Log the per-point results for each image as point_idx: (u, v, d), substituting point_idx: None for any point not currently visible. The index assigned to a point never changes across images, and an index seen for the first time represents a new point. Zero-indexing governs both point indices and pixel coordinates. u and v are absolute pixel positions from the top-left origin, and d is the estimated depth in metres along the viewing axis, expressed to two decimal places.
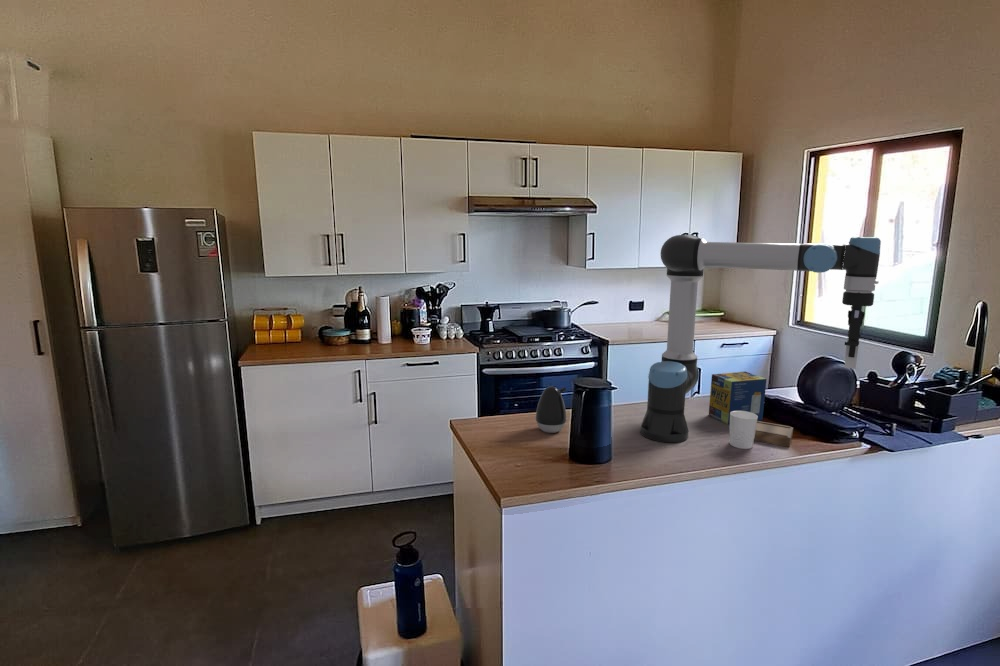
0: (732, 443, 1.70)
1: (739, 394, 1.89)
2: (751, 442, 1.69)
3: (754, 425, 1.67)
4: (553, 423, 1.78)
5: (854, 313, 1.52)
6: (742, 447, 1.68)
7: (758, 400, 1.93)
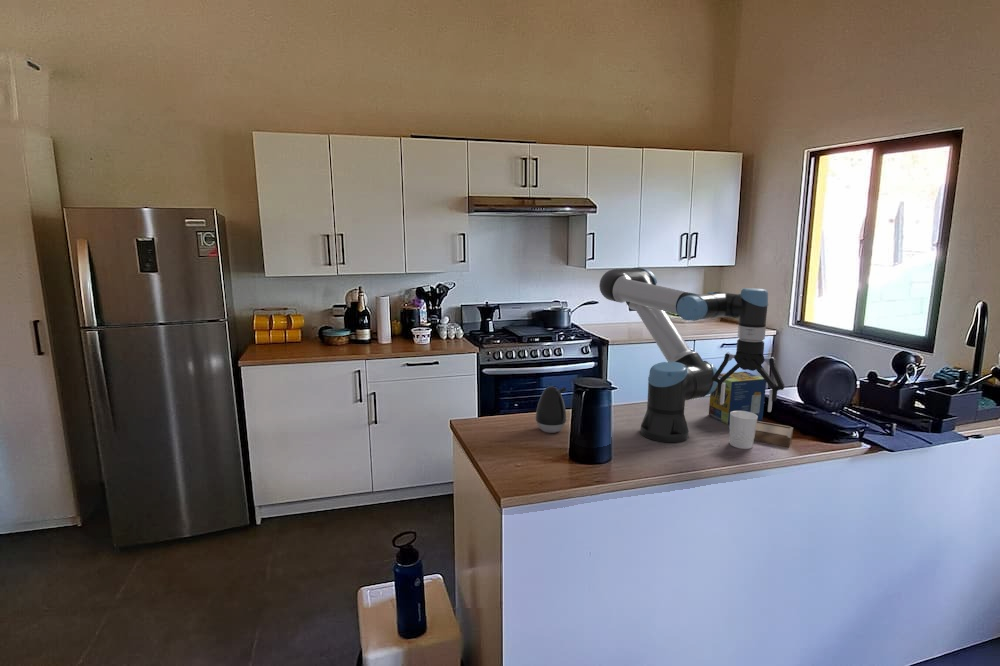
0: (732, 443, 1.70)
1: (739, 394, 1.89)
2: (751, 442, 1.69)
3: (754, 425, 1.67)
4: (553, 423, 1.78)
5: None
6: (742, 447, 1.68)
7: (758, 400, 1.93)
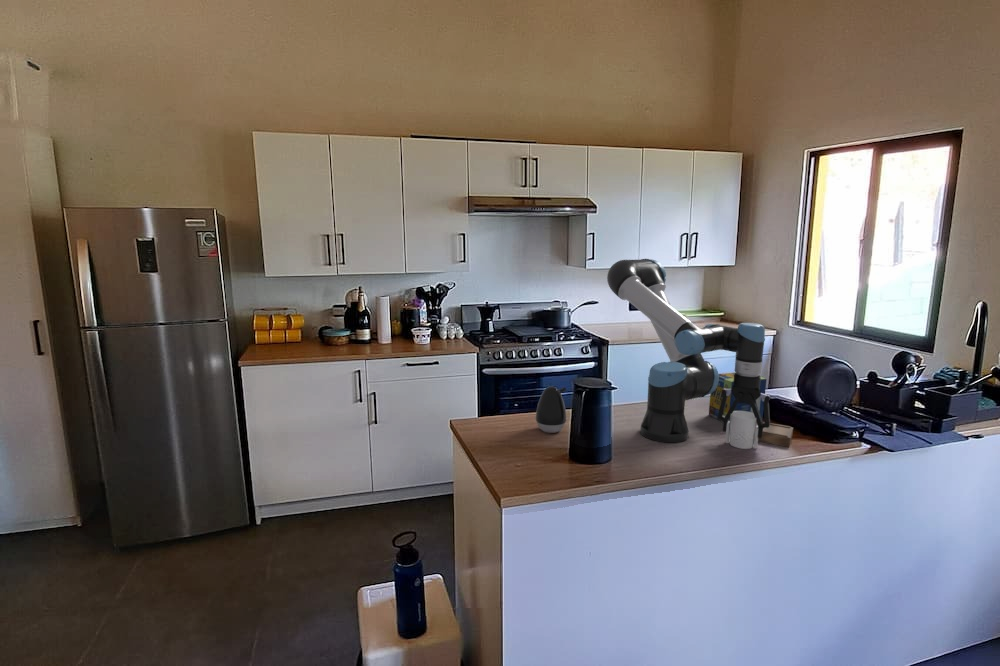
0: (732, 443, 1.70)
1: None
2: (751, 442, 1.68)
3: (754, 425, 1.67)
4: (553, 423, 1.78)
5: None
6: (742, 447, 1.68)
7: (758, 400, 1.93)
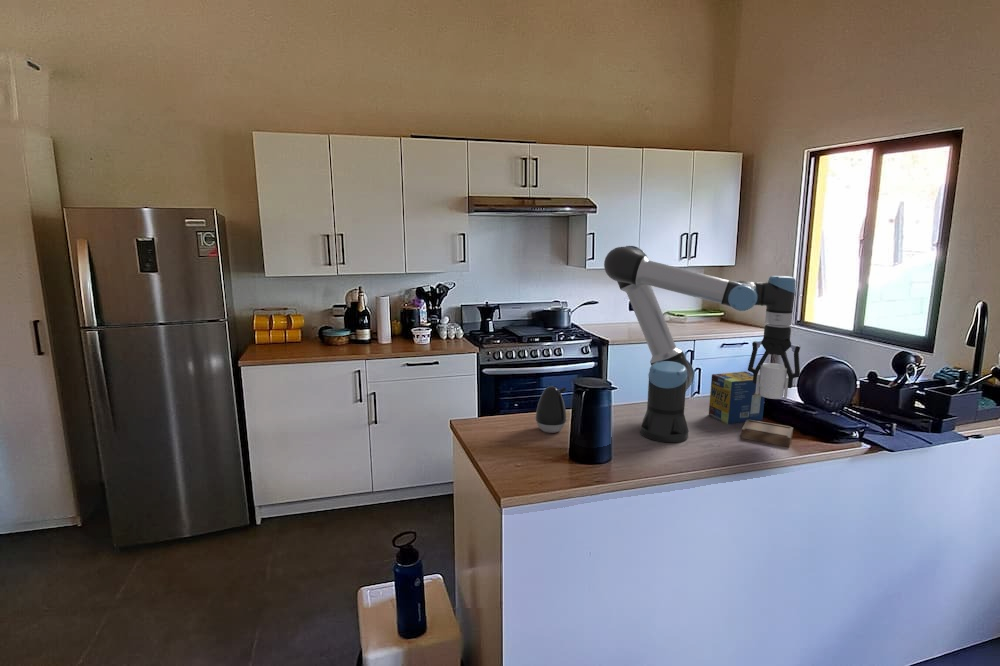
0: (762, 394, 1.75)
1: (739, 394, 1.89)
2: (781, 392, 1.73)
3: (784, 375, 1.71)
4: (553, 423, 1.78)
5: None
6: (773, 397, 1.73)
7: (758, 400, 1.93)
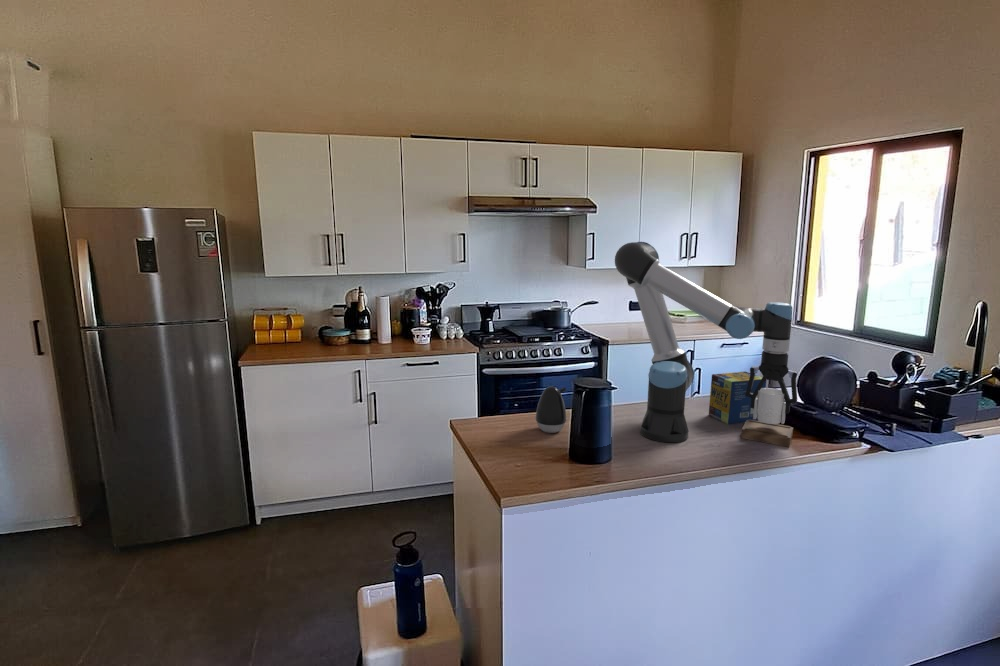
0: (760, 419, 1.76)
1: (739, 394, 1.89)
2: (779, 418, 1.74)
3: (782, 401, 1.73)
4: (553, 423, 1.78)
5: None
6: (770, 422, 1.74)
7: None
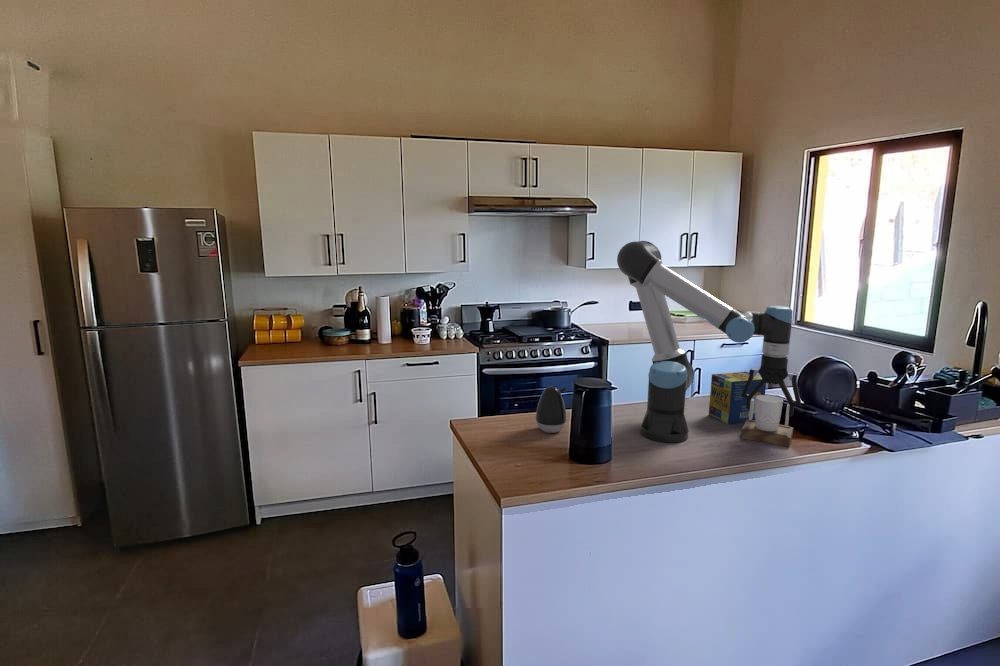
0: (758, 426, 1.77)
1: (739, 394, 1.89)
2: (777, 425, 1.75)
3: (780, 408, 1.74)
4: (553, 423, 1.78)
5: None
6: (768, 430, 1.75)
7: None
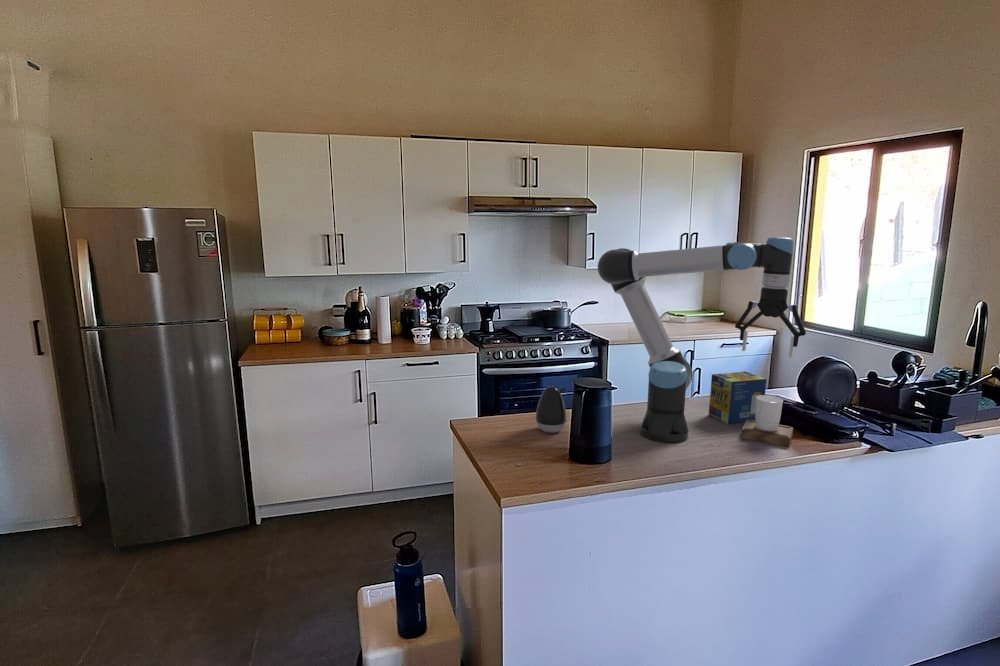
0: (758, 426, 1.77)
1: (739, 394, 1.89)
2: (777, 425, 1.75)
3: (780, 408, 1.74)
4: (553, 423, 1.78)
5: None
6: (768, 430, 1.75)
7: None
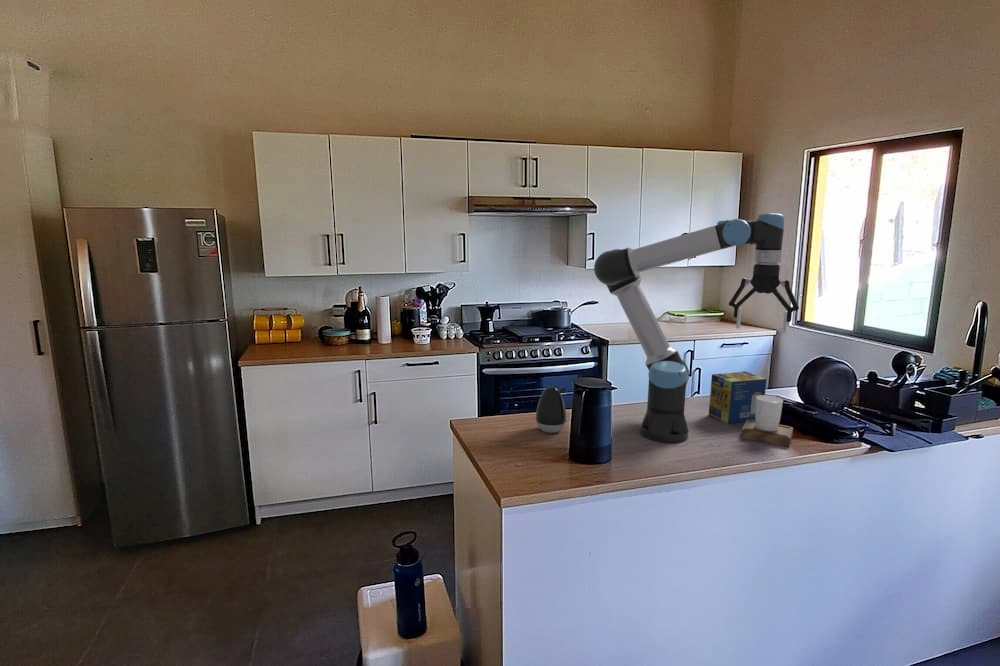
0: (758, 426, 1.77)
1: (739, 394, 1.89)
2: (777, 425, 1.75)
3: (780, 408, 1.74)
4: (553, 423, 1.78)
5: None
6: (768, 430, 1.75)
7: None
